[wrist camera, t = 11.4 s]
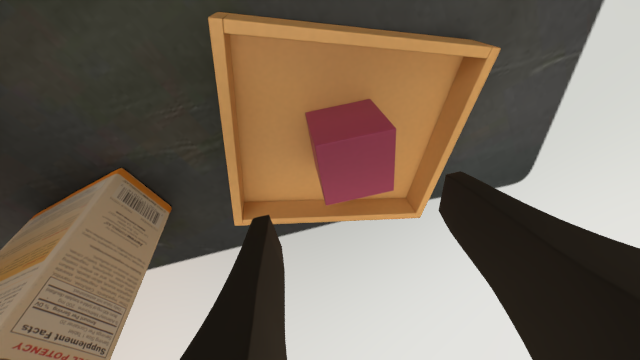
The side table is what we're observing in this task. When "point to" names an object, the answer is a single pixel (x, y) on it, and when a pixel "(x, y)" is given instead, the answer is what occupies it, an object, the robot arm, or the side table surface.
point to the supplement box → (78, 271)
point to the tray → (333, 90)
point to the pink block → (352, 150)
